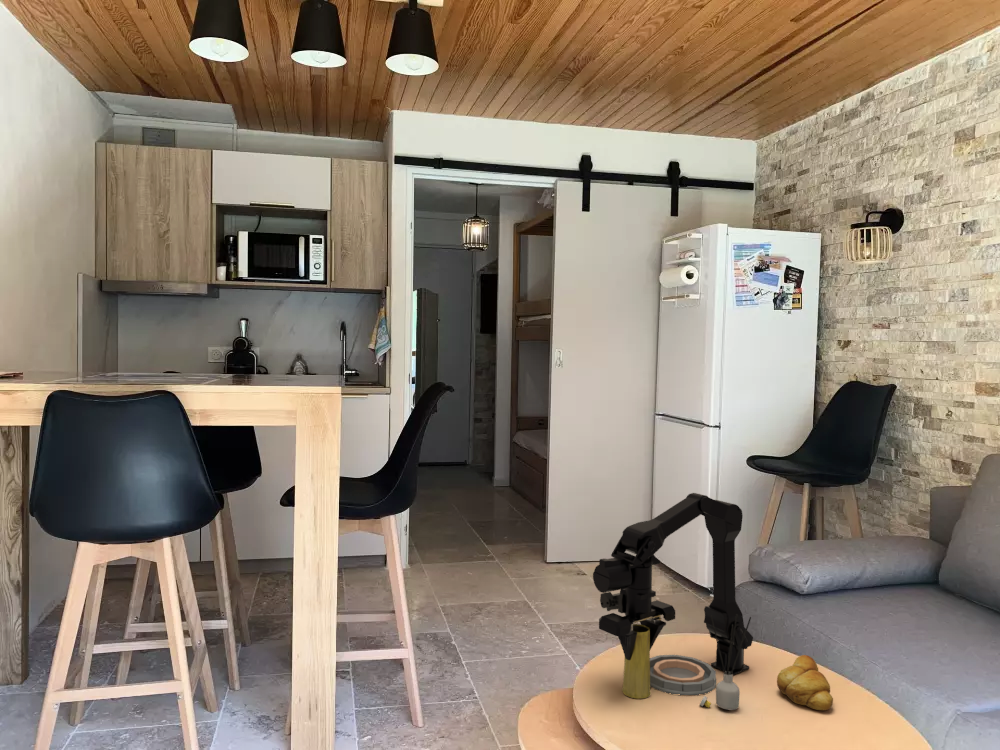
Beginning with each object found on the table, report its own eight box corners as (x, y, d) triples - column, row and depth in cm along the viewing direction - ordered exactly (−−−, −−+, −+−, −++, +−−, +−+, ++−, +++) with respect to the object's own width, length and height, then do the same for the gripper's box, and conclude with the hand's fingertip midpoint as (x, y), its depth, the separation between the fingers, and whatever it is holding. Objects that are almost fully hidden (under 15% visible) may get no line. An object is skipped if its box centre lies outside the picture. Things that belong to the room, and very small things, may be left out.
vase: (650, 700, 158) (651, 634, 158) (621, 697, 159) (622, 632, 159) (650, 688, 164) (651, 624, 163) (622, 685, 165) (623, 622, 165)
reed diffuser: (745, 703, 157) (747, 610, 157) (755, 719, 151) (757, 621, 150) (696, 701, 158) (698, 608, 157) (705, 717, 151) (707, 620, 150)
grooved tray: (673, 658, 180) (674, 648, 180) (731, 683, 167) (731, 672, 167) (627, 675, 170) (627, 665, 170) (684, 702, 157) (684, 691, 157)
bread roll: (843, 714, 153) (844, 675, 153) (799, 716, 152) (800, 678, 152) (809, 686, 166) (810, 651, 166) (768, 688, 165) (769, 653, 165)
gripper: (639, 569, 173) (638, 635, 173) (581, 583, 162) (580, 654, 162) (677, 581, 164) (676, 651, 165) (618, 597, 153) (617, 672, 153)
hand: (637, 656), depth 161 cm, fingers closed on vase, 5 cm apart
